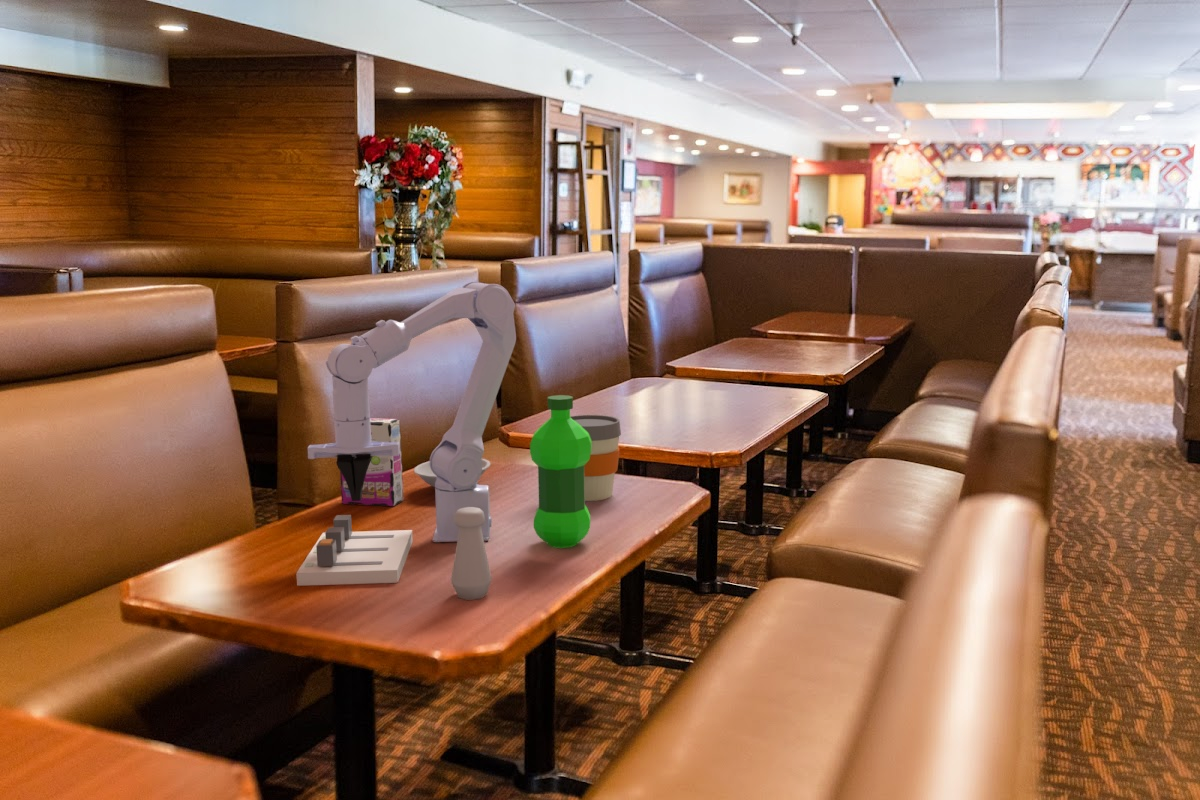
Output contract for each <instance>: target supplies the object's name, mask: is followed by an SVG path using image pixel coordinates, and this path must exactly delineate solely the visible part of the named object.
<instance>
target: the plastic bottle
mask: <svg viewBox="0 0 1200 800" xmlns="http://www.w3.org/2000/svg"><path fill="white" fill-rule="evenodd" d="M573 408H574V396H571V395H564V394H559V395H550V396H547V410H550V416H551V417H550V418H549V419H548V420H546V421H545V422H544V423H543V424H542V425H540V427H539V428H538V429H536V430H535V432H534V433H533V435H532V438H531V441H530V444H529V453H530V458H531V460H532V462H533V463H535V465H536V466H537V468H538V469H537V475H538V476H537V478H538V481H537V482H538V507H537V509H536V513H535V514H534V518H533V529H534V531H535V534H536V535H537V537H539V538H540V539H541V540H542V541H543V542H545V544H546V545H547V546H549V547H551V548H557V549H558V548H559V549H566V548H573V547H575V546H577V545H578V544H579V543H580V542H581V541H582V540H583V539H584V538H585V537H586V536H587V535H588V533H589V531H590V528H591V514H590V511H589V509H588V507H587V505H586V501H585V483H584V465H585V464H586V463H587V462H588V461H589V459H590V454H591V438H590V435H589V433H588V432H587V431H586V430H585V429H584V428H583V427H582V426H580V425H579V424H578V423H577V422H576V421H574V420H573V419H572V418H571V417H570V416H571V412H570V411H571V410H573Z"/></svg>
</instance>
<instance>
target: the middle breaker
mask: <svg viewBox="0 0 1200 800" xmlns="http://www.w3.org/2000/svg"><path fill="white" fill-rule="evenodd" d="M325 535H326V539H333V540H336V551H337V552H342V550H343V549H344V547H345V537H344V527H334V526H328V528H327V530H325Z"/></svg>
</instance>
